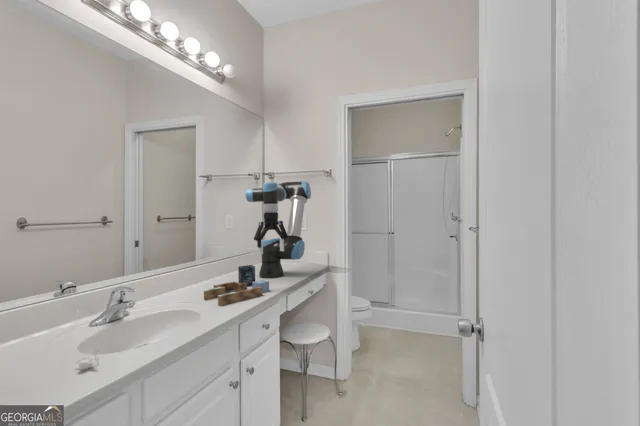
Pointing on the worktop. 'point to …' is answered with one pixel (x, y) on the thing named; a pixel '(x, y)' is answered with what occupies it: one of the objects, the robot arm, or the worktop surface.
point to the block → (261, 285)
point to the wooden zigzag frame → (231, 293)
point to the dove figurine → (88, 361)
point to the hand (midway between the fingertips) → (271, 252)
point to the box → (246, 274)
